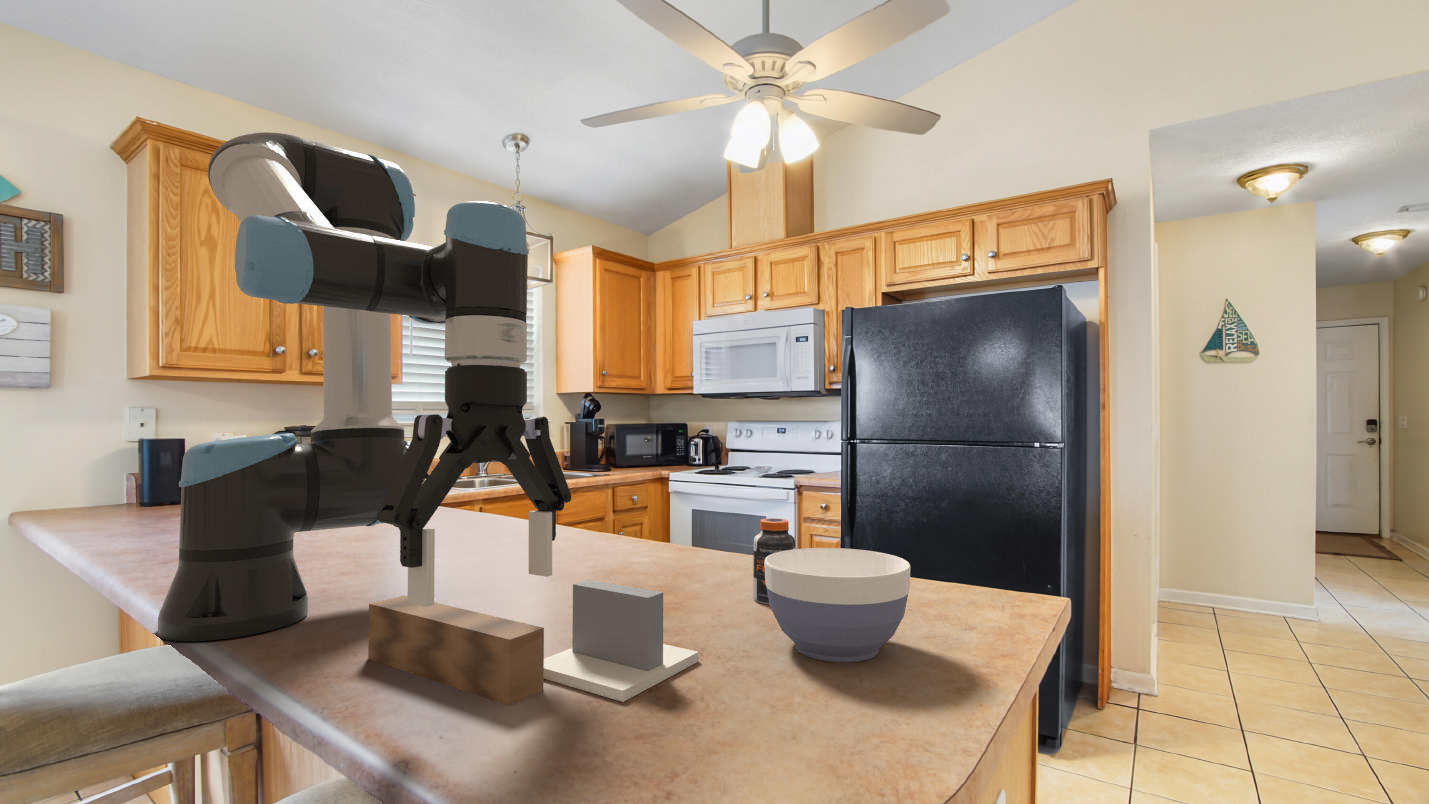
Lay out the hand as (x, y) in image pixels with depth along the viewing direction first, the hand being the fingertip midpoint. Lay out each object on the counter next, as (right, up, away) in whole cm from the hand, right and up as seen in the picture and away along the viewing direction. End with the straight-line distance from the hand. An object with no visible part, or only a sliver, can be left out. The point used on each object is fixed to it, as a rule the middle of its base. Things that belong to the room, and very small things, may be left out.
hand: (485, 588), depth 63 cm
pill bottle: (+30, -10, +30) cm, 44 cm away
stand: (+12, -9, +4) cm, 16 cm away
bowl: (+35, -10, +10) cm, 38 cm away
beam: (-4, -10, +3) cm, 11 cm away
